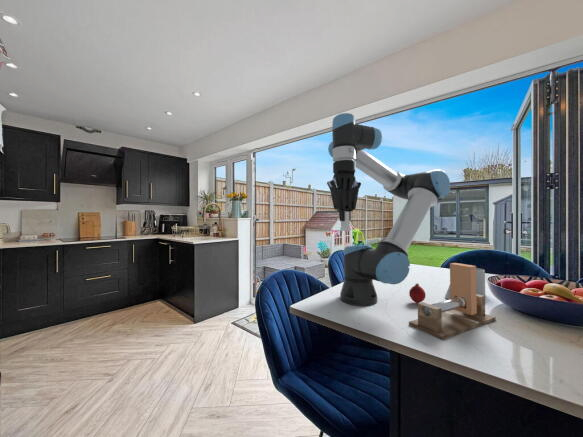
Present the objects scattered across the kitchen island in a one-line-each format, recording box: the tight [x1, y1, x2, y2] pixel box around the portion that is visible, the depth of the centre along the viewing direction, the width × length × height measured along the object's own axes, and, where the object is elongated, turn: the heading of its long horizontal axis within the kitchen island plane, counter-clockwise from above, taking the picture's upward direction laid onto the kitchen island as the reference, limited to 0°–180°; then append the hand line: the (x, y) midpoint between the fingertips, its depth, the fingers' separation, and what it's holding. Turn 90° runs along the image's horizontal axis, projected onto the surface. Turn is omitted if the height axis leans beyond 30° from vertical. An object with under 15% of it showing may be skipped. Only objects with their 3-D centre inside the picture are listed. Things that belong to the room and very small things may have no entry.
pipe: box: [422, 297, 466, 317], centre depth 80 cm, size 26×3×3 cm, turn 116°
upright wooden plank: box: [449, 262, 477, 315], centre depth 82 cm, size 3×7×16 cm, turn 26°
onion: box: [408, 283, 426, 304], centre depth 98 cm, size 6×6×8 cm
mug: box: [476, 267, 486, 297], centre depth 110 cm, size 12×8×11 cm
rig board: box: [408, 294, 497, 341], centre depth 80 cm, size 28×11×8 cm, turn 116°
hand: (345, 230), depth 83 cm, fingers closed
